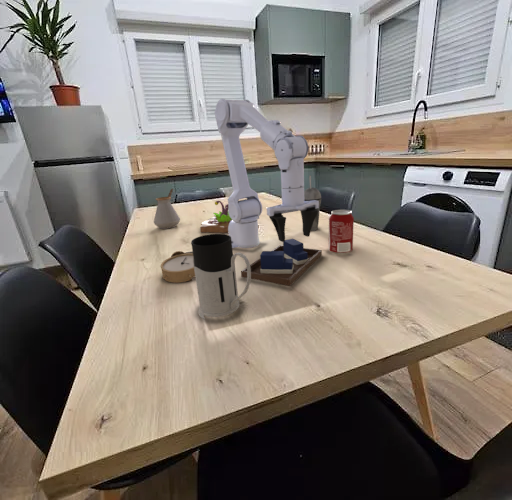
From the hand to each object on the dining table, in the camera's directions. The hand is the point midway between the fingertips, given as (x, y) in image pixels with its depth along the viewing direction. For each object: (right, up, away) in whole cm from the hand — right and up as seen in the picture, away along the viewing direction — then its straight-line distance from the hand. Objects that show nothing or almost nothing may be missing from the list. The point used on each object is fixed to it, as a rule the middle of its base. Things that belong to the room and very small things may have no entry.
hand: (294, 238), depth 80 cm
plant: (-23, +7, +46) cm, 52 cm away
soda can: (+15, -4, +8) cm, 17 cm away
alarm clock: (-29, -9, +2) cm, 31 cm away
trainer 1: (-5, -8, -4) cm, 11 cm away
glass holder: (-16, -16, -21) cm, 31 cm away
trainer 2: (+1, -6, +2) cm, 6 cm away
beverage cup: (+11, +5, +33) cm, 35 cm away
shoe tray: (-3, -8, -1) cm, 8 cm away
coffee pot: (-50, +9, +58) cm, 77 cm away
